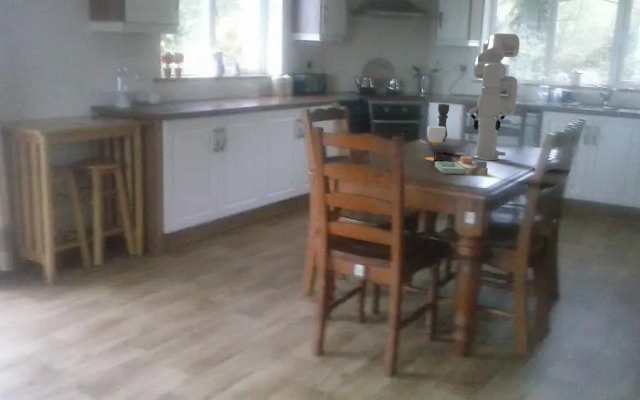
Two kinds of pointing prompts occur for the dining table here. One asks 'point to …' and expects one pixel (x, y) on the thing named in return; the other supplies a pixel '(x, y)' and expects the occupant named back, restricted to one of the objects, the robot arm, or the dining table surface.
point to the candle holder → (443, 116)
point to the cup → (435, 136)
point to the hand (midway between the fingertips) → (486, 129)
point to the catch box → (449, 168)
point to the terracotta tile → (466, 160)
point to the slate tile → (480, 163)
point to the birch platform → (472, 169)
